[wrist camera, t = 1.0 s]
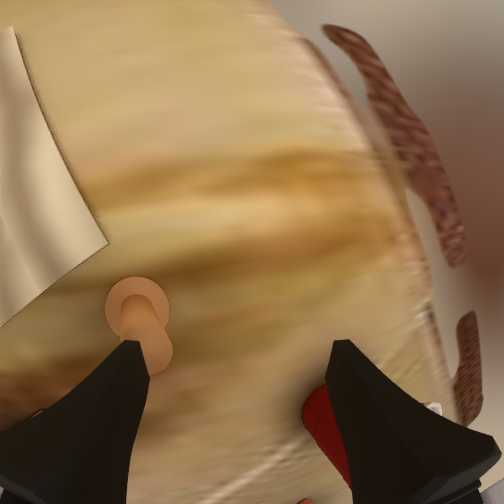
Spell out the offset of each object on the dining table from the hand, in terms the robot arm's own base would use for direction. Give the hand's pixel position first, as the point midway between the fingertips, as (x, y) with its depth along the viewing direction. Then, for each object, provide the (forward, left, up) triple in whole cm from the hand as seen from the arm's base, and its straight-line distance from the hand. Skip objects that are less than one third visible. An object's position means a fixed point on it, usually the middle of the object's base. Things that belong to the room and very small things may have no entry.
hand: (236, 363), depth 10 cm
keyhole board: (-11, +17, -12) cm, 24 cm away
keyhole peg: (-3, +1, -12) cm, 13 cm away
